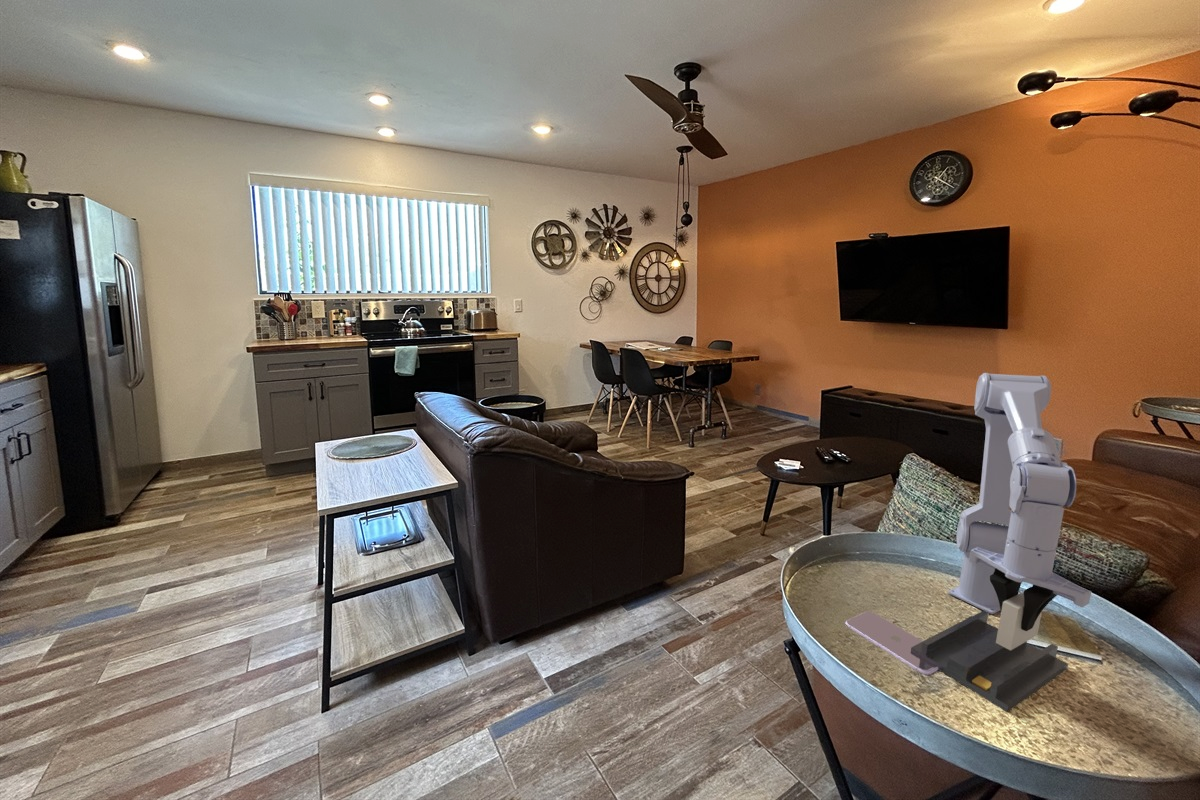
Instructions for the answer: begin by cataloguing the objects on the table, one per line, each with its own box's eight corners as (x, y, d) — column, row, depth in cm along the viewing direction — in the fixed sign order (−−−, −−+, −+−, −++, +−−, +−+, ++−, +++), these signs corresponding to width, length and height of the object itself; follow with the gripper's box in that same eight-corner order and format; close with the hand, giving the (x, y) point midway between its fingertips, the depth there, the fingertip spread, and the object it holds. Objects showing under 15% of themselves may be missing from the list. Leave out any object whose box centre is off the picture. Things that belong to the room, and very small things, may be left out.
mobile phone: (869, 608, 97) (954, 657, 84) (868, 613, 97) (953, 662, 84) (842, 620, 94) (926, 673, 81) (841, 625, 94) (925, 678, 81)
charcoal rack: (971, 620, 94) (973, 605, 93) (1067, 669, 82) (1070, 652, 81) (910, 652, 86) (912, 636, 85) (1007, 711, 74) (1010, 693, 73)
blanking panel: (1022, 627, 83) (1029, 588, 82) (1037, 634, 81) (1045, 594, 80) (995, 642, 80) (1002, 601, 78) (1010, 650, 78) (1018, 608, 76)
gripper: (963, 528, 81) (952, 606, 84) (1080, 571, 69) (1062, 661, 71) (988, 519, 84) (976, 594, 87) (1104, 558, 72) (1086, 644, 75)
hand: (1016, 623), depth 80 cm, fingers closed on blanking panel, 2 cm apart
